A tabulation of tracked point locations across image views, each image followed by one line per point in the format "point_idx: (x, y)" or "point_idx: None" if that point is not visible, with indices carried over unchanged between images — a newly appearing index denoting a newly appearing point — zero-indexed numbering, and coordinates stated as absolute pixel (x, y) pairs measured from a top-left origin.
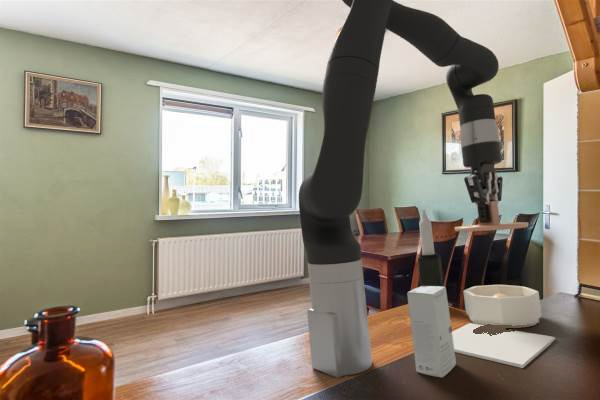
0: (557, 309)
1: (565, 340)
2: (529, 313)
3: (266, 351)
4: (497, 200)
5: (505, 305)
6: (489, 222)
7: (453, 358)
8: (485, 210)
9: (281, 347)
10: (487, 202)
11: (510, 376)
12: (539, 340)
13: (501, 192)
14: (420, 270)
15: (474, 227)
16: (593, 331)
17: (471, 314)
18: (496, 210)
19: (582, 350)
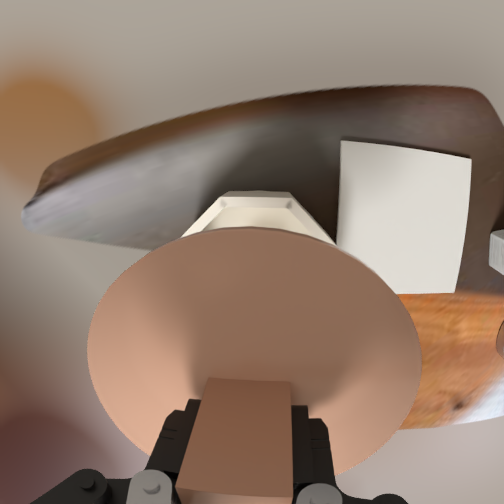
0: (126, 195)
1: (331, 127)
2: (292, 196)
3: (499, 405)
4: (152, 488)
5: (328, 236)
6: (294, 406)
7: (501, 233)
8: (329, 461)
9: (489, 406)
10: (332, 494)
11: (491, 166)
12: (373, 158)
13: (40, 501)
14: None
15: (412, 401)
16: (250, 101)
17: None
18: (222, 438)
19: (366, 100)
